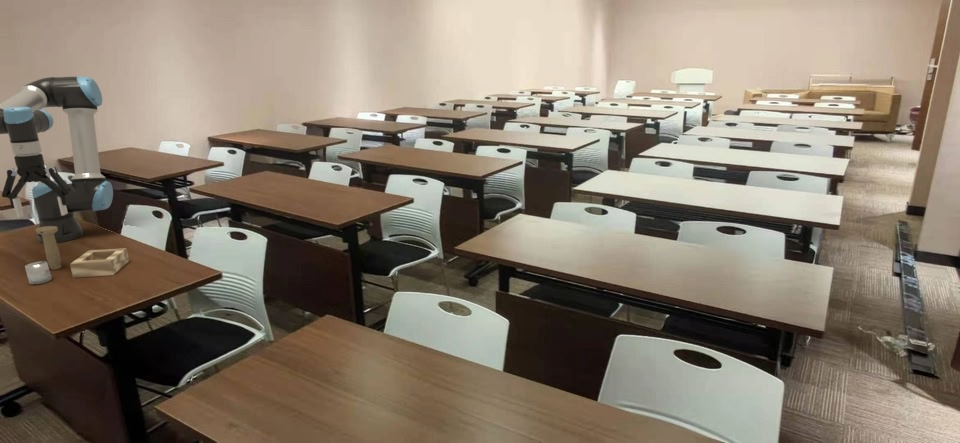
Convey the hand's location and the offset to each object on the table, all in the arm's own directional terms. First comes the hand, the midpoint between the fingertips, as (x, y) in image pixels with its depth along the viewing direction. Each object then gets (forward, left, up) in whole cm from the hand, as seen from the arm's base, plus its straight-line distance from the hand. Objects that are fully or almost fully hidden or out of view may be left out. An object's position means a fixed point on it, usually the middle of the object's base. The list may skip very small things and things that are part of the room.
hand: (42, 215), depth 195 cm
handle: (0, 0, -20) cm, 20 cm away
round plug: (+12, +1, -20) cm, 23 cm away
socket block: (+4, +16, -20) cm, 26 cm away
